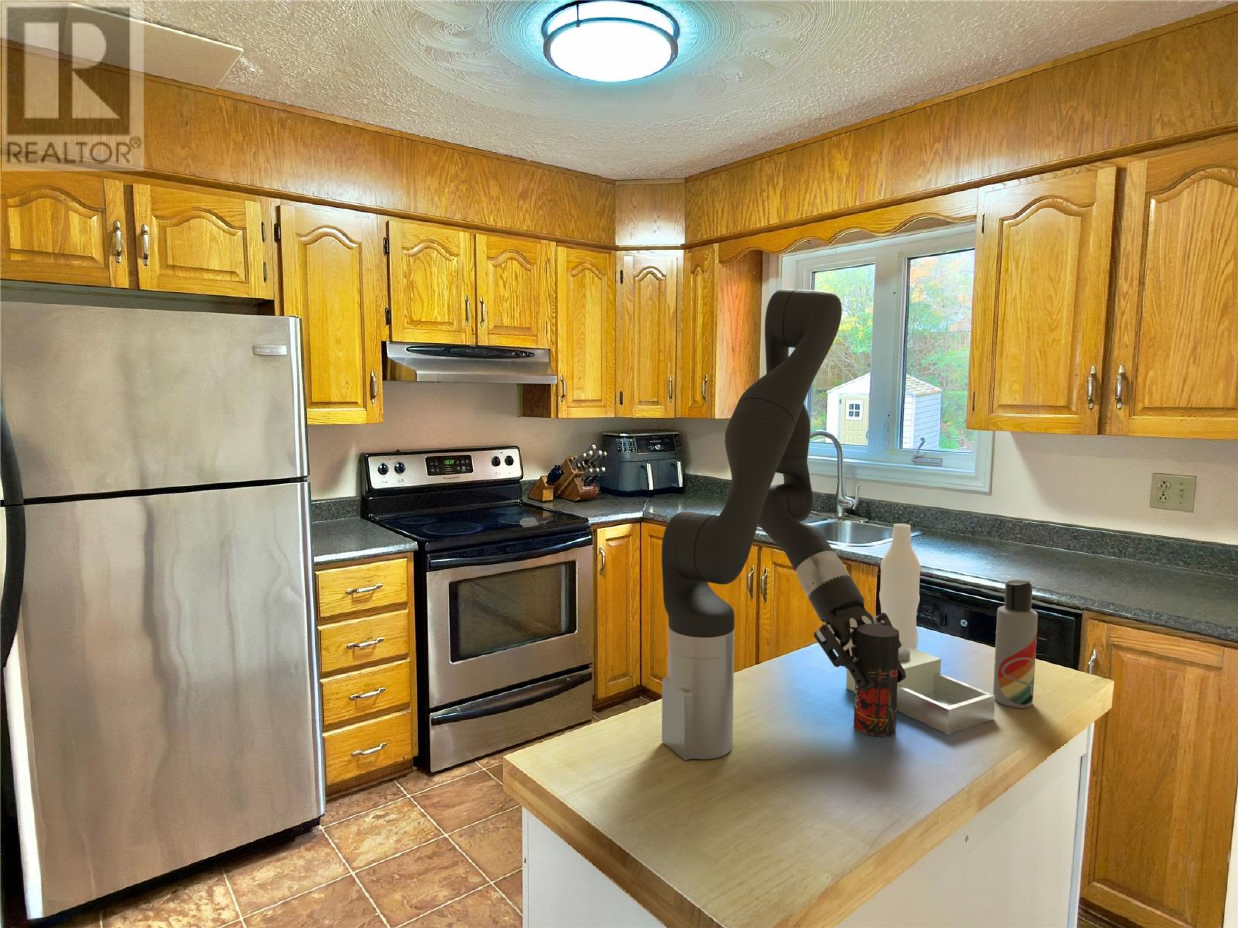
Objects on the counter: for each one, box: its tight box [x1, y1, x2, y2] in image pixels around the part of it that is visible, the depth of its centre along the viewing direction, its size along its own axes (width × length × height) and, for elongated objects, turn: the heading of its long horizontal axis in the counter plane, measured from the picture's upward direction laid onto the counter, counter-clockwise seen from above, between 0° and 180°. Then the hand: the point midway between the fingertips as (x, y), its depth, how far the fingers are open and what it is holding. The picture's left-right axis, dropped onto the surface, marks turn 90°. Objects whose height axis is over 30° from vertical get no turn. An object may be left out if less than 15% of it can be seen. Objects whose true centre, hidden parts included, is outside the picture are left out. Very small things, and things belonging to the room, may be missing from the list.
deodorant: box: [853, 624, 899, 738], centre depth 106 cm, size 6×6×15 cm
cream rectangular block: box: [845, 644, 942, 694], centre depth 120 cm, size 12×9×7 cm
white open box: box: [896, 673, 996, 735], centre depth 111 cm, size 11×10×4 cm
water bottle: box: [878, 523, 922, 650], centre depth 136 cm, size 7×7×25 cm
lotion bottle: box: [992, 579, 1039, 709], centre depth 115 cm, size 6×6×20 cm
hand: (885, 684), depth 105 cm, fingers closed on deodorant, 6 cm apart
